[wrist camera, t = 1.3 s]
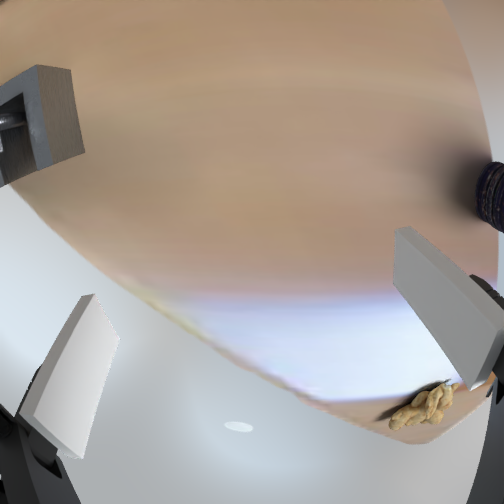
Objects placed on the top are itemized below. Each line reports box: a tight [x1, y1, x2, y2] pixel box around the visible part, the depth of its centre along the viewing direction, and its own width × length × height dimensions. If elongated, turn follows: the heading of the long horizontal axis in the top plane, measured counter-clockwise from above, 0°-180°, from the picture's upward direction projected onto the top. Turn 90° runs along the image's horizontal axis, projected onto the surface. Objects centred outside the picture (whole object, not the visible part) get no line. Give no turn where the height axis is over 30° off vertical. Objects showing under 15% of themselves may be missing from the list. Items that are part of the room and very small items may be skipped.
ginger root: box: [389, 383, 460, 431], centre depth 52 cm, size 16×16×8 cm
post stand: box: [0, 111, 28, 153], centre depth 20 cm, size 6×3×10 cm, turn 8°
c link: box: [0, 65, 85, 187], centre depth 22 cm, size 10×9×7 cm
